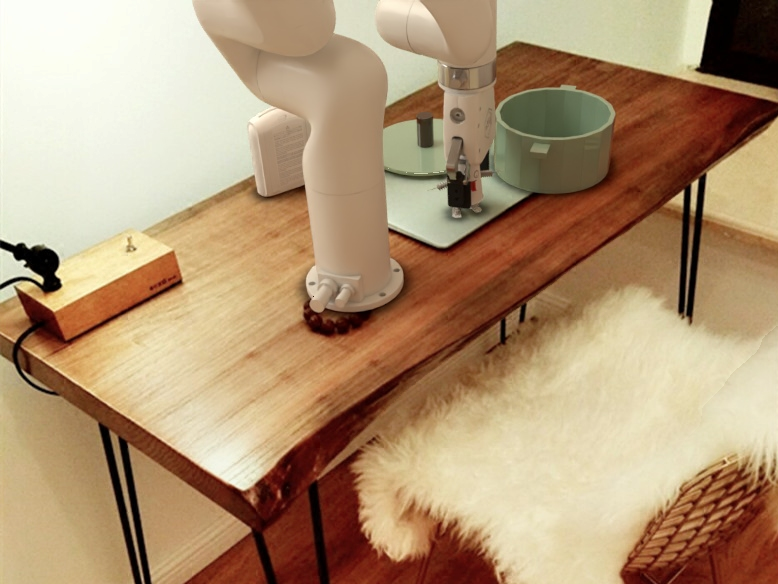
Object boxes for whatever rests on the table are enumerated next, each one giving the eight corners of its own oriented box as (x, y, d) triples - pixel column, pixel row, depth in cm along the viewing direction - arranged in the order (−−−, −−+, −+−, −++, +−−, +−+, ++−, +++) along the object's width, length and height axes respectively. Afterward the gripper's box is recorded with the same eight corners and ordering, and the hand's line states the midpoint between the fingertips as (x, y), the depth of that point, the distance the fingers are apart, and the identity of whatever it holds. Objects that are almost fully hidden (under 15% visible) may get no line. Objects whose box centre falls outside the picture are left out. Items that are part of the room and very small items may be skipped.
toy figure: (437, 231, 126) (435, 175, 120) (419, 212, 130) (417, 158, 124) (512, 209, 130) (514, 154, 124) (493, 191, 133) (494, 137, 128)
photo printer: (311, 169, 141) (302, 92, 133) (325, 179, 139) (316, 101, 130) (252, 190, 137) (238, 112, 129) (265, 201, 135) (252, 122, 126)
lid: (496, 131, 148) (496, 95, 144) (466, 185, 135) (466, 148, 131) (390, 120, 153) (388, 85, 148) (351, 172, 140) (348, 135, 136)
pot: (619, 137, 144) (625, 85, 138) (595, 209, 128) (601, 154, 123) (513, 126, 149) (514, 76, 143) (477, 195, 133) (477, 141, 127)
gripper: (477, 103, 109) (479, 225, 121) (511, 44, 121) (509, 161, 133) (418, 98, 111) (425, 218, 123) (457, 41, 123) (460, 156, 135)
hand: (469, 188), depth 128 cm, fingers open, 9 cm apart
